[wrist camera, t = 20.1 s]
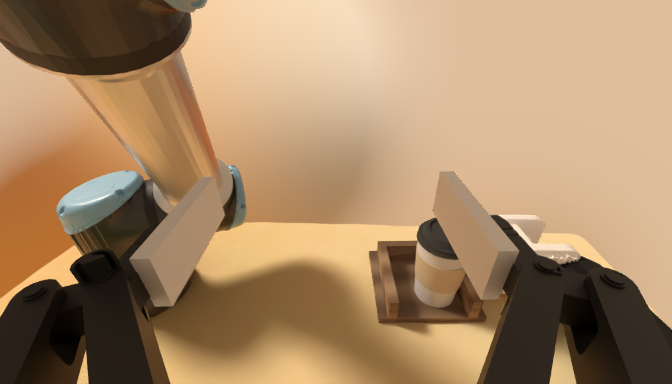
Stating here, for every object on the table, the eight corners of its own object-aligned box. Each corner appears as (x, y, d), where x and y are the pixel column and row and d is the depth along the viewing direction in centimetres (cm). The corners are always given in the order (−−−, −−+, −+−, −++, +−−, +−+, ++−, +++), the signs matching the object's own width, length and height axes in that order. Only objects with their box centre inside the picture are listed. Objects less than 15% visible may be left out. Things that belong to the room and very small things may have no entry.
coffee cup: (449, 323, 46) (469, 255, 38) (399, 295, 51) (409, 230, 43) (466, 288, 52) (487, 224, 44) (420, 266, 57) (432, 205, 49)
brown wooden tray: (484, 321, 47) (492, 301, 45) (378, 322, 47) (380, 303, 45) (450, 253, 61) (455, 235, 59) (369, 254, 61) (369, 236, 59)
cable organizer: (527, 258, 59) (548, 214, 53) (559, 300, 50) (588, 252, 44) (456, 257, 60) (468, 213, 54) (475, 298, 51) (491, 251, 45)
